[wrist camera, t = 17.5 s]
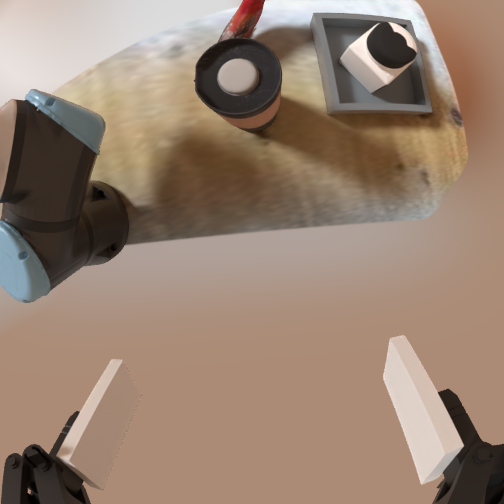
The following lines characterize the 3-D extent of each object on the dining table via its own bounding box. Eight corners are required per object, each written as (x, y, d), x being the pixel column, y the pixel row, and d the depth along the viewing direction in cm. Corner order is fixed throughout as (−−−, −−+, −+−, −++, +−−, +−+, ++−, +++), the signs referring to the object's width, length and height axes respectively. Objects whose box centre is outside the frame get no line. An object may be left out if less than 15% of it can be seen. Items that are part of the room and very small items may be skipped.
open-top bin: (327, 114, 39) (333, 110, 34) (310, 24, 34) (313, 12, 29) (419, 114, 37) (432, 112, 33) (400, 29, 32) (410, 20, 28)
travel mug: (289, 109, 39) (302, 73, 20) (253, 144, 41) (237, 134, 22) (252, 76, 38) (236, 21, 19) (217, 110, 40) (174, 79, 21)
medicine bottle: (370, 94, 36) (402, 77, 25) (337, 61, 35) (358, 33, 23) (397, 70, 34) (432, 49, 23) (365, 38, 33) (391, 8, 21)
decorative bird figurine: (275, 14, 33) (275, -17, 24) (211, 95, 39) (195, 80, 29) (260, 6, 33) (256, -25, 24) (196, 86, 38) (176, 70, 29)
